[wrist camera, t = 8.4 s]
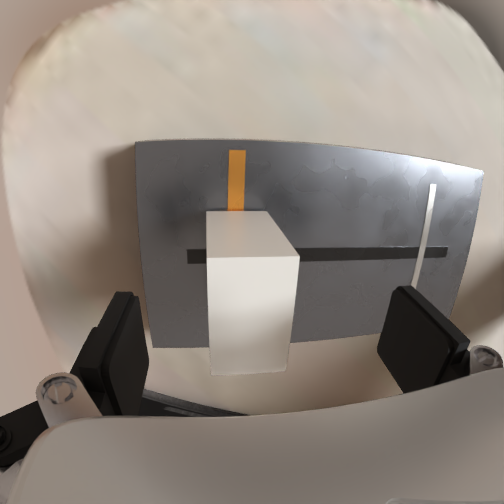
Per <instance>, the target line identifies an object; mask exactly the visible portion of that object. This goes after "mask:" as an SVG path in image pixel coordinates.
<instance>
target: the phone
mask: <svg viewBox="0 0 504 504" xmlns="http://www.w3.org/2000/svg"><path fill="white" fill-rule="evenodd" d="M138 416H153V417H233V416H251V415H246V414H241V413H236V412H231V411H226V410H222V409H217V408H213V407H208V406H204V405H200V404H196V403H192V402H188V401H184V400H181V399H177V398H173V397H170V396H166V395H163V394H159V393H156V392H153V391H149V390H146V389H144V390H143V395H142V399H141V404H140V409H139V414H138Z"/></svg>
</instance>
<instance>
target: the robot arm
mask: <svg viewBox="0 0 504 504" xmlns="http://www.w3.org/2000/svg"><path fill="white" fill-rule="evenodd" d="M469 343H470V340H469V339H468V338H467V337H466V336H465V335H464V334H463V333H462V332H461V331H460V330H459V329H458V328H457V327H456V326H455V325H454V324H453V323H452V322H451V321H450V320H449V319H447V318H446V317H445V316H444V315H443V314H442V313H441V312H440V311H439V310H438V309H437V308H436V307H435V306H434V305H433V304H432V303H430V302H429V301H428V300H427V299H426V298H425V297H424V296H423V295H422V294H421V293H420V292H418V291H417V290H416V289H415V288H414V287H413V286H411V285H408V286H398V287H397V288H396V289H395V290H394V291H393V292H392V295H391V299H390V303H389V307H388V311H387V314H386V318H385V322H384V325H383V329H382V332H381V336H380V339H379V343H378V346H377V352H378V354H379V356H380V358H381V359H382V361H383V362H384V364H385V365H386V367H387V368H388V370H389V371H390V373H391V374H392V376H393V378H394V379H395V381H396V382H397V384H398V385H399V387H400V388H401V390H402V392H403V393H404V394H399V395H395V396H390V397H386V398H381V399H376V400H371V401H366V402H360V403H355V404H349V405H343V406H336V407H330V408H323V409H315V410H307V411H299V412H289V413H279V414H267V415H253V416H233V417H153V416H138V414H139V409H140V404H141V399H142V395H143V390H144V385H145V381H146V376H147V371H148V367H149V357H148V351H147V346H146V340H145V334H144V328H143V322H142V316H141V309H140V302H139V298H138V296H134V295H133V293H132V292H116V293H115V295H114V296H113V298H112V300H111V302H110V304H109V306H108V308H107V309H106V311H105V313H104V315H103V317H102V319H101V321H100V323H99V325H98V327H94V328H93V329H92V330H91V332H90V333H89V335H88V337H87V339H86V341H85V343H84V345H83V347H82V349H81V351H80V353H79V355H78V357H77V359H76V361H75V363H74V365H73V367H72V369H71V371H70V373H56V374H51V375H49V376H48V377H46V378H44V379H43V380H42V381H41V382H40V383H39V385H38V386H37V389H36V397H37V401H35V402H33V403H31V404H29V405H26V406H24V407H22V408H20V409H17V410H15V411H13V412H11V413H8V414H6V415H4V416H2V417H0V504H504V367H503V360H502V357H501V356H500V354H499V353H498V352H497V351H495V350H494V349H492V348H490V347H487V346H483V345H477V346H474V347H473V348H472V349H471V350H470V352H469V351H468V350H467V348H468V346H469Z"/></svg>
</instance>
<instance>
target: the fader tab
mask: <svg viewBox="0 0 504 504" xmlns="http://www.w3.org/2000/svg"><path fill="white" fill-rule="evenodd" d="M206 242H207V292H208V323H209V346H210V366H211V376H224V375H244V374H260V373H273V372H284V371H286V368H287V361H288V354H289V346H290V338H291V331H292V322H293V314H294V306H295V297H296V288H297V279H298V269H299V260H300V256H299V254H298V253H297V252H296V250H295V249H294V248H293V246H292V245H291V243H290V242H289V241H288V239H287V238H286V237H285V235H284V234H283V232H282V231H281V230H280V228H279V227H278V226H277V224H276V223H275V222H274V220H273V219H272V218H271V216H270V215H269V214H268V212H267V211H206Z"/></svg>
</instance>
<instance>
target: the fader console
mask: <svg viewBox="0 0 504 504" xmlns="http://www.w3.org/2000/svg"><path fill="white" fill-rule="evenodd" d="M135 167H136V196H137V214H138V229H139V242H140V253H141V263H142V273H143V282H144V290H145V298H146V306H147V313H148V320H149V326H150V333H151V339H152V345H153V348H196V347H210V346H209V323H208V292H207V242H206V211H267V212H268V214H269V215H270V216H271V218H272V219H273V220H274V222H275V223H276V224H277V226H278V227H279V228H280V230H281V231H282V232H283V234H284V235H285V237H286V238H287V239H288V241H289V242H290V243H291V245H292V246H293V248H294V249H295V250H296V252H297V253H298V254H299V256H300V260H299V269H298V279H297V288H296V297H295V306H294V314H293V322H292V331H291V338H290V343H296V342H307V341H318V340H327V339H336V338H345V337H353V336H361V335H369V334H376V333H381V332H382V329H383V325H384V322H385V318H386V314H387V311H388V307H389V303H390V299H391V295H392V292H393V291H394V290H395V289H396V288H397V287H398V286H408V285H411V286H413V287H414V288H415V289H416V290H417V291H418V292H420V293H421V294H422V295H423V296H424V297H425V298H426V299H427V300H428V301H429V302H430V303H432V304H433V305H434V306H435V307H436V308H437V309H438V310H439V311H440V312H441V313H442V314H443V315H444V316H445V317H446V318H447V319H449V317H450V314H451V311H452V308H453V305H454V302H455V299H456V296H457V293H458V290H459V286H460V283H461V280H462V276H463V273H464V269H465V265H466V261H467V258H468V254H469V250H470V245H471V241H472V237H473V232H474V227H475V222H476V217H477V212H478V206H479V200H480V194H481V188H482V180H483V173H484V171H481V170H478V169H474V168H470V167H466V166H462V165H458V164H454V163H449V162H444V161H439V160H434V159H429V158H423V157H418V156H412V155H406V154H400V153H393V152H387V151H380V150H373V149H365V148H357V147H349V146H339V145H330V144H319V143H307V142H293V141H277V140H255V139H165V140H145V141H138V142H135Z"/></svg>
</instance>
